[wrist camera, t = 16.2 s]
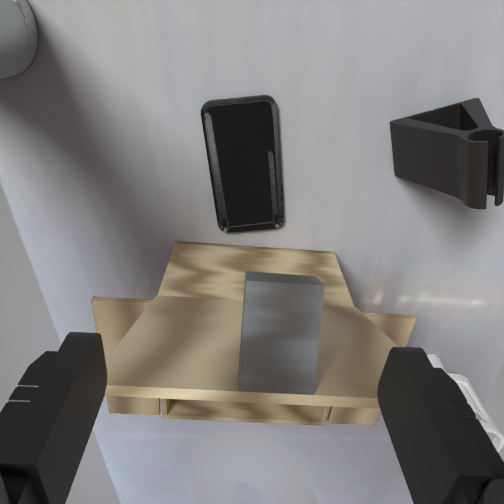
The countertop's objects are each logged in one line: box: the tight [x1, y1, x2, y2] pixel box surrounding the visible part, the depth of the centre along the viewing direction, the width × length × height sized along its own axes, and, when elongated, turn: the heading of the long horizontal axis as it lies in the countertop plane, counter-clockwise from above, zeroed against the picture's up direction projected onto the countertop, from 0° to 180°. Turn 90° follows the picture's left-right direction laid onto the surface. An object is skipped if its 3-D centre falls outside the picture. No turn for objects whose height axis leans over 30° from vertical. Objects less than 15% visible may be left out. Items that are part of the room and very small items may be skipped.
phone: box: [201, 95, 283, 232], centre depth 44 cm, size 8×1×15 cm
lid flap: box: [104, 271, 398, 409], centre depth 29 cm, size 20×18×7 cm
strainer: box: [427, 354, 504, 452], centre depth 53 cm, size 7×7×15 cm
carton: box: [91, 241, 416, 425], centre depth 48 cm, size 33×18×12 cm, turn 85°
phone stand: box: [390, 98, 504, 209], centre depth 37 cm, size 9×6×12 cm, turn 105°
